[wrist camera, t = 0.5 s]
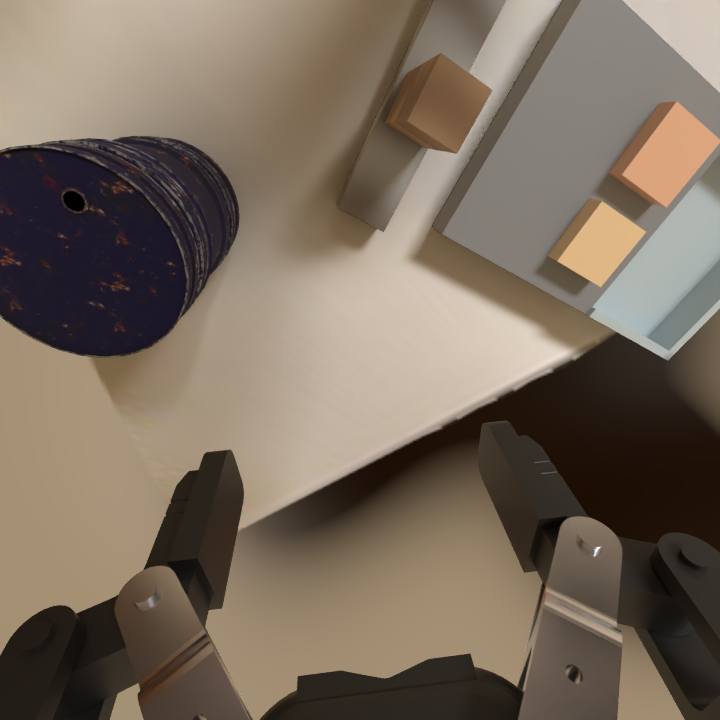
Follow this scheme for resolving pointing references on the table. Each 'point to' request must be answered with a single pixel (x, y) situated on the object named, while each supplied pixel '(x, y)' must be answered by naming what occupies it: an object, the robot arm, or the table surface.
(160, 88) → the table surface
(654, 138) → the tile
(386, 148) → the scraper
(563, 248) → the tile
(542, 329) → the table surface
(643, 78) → the board
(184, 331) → the table surface
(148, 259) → the storage jar
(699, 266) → the tray
